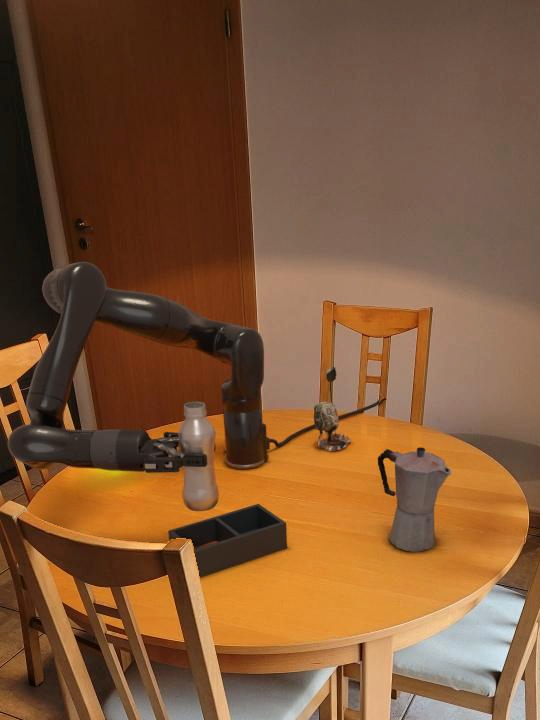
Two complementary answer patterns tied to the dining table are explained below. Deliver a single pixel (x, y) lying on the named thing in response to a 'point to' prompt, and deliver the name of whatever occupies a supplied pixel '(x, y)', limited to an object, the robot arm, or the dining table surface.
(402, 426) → the dining table surface
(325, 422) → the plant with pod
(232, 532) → the compartment box
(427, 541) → the moka pot
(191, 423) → the plastic bottle
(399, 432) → the dining table surface
